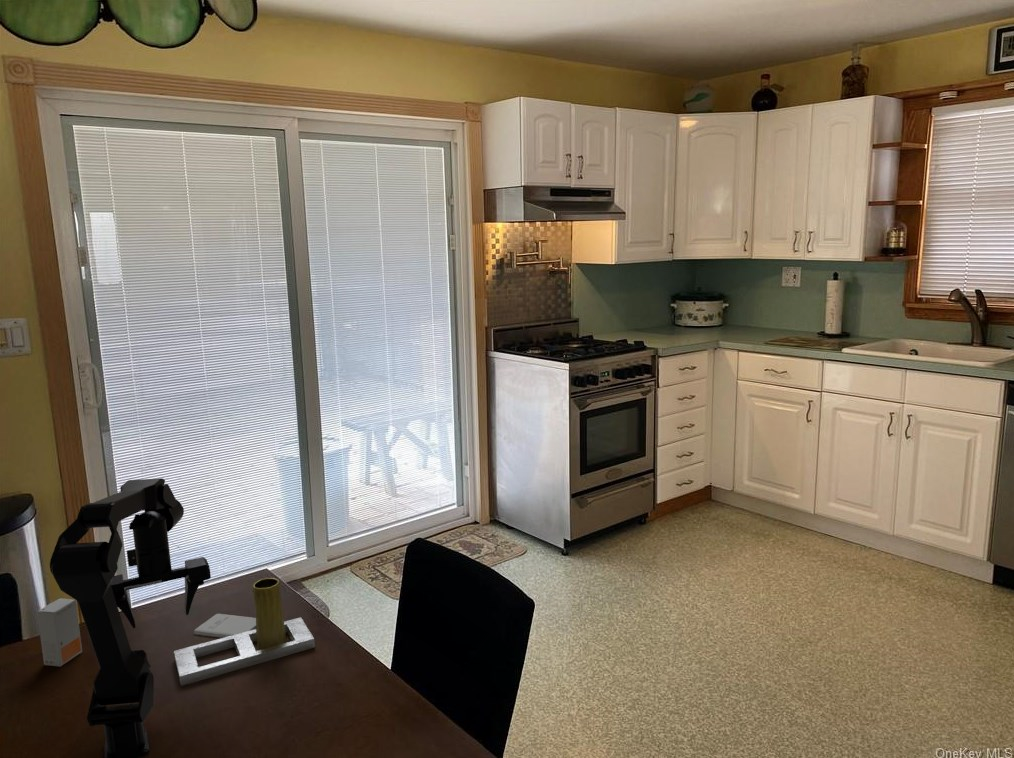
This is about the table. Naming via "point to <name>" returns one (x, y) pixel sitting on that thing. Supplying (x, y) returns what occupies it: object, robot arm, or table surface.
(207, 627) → the external hard drive
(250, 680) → the table surface
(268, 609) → the vase
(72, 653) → the skincare box
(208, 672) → the grey flat frame
